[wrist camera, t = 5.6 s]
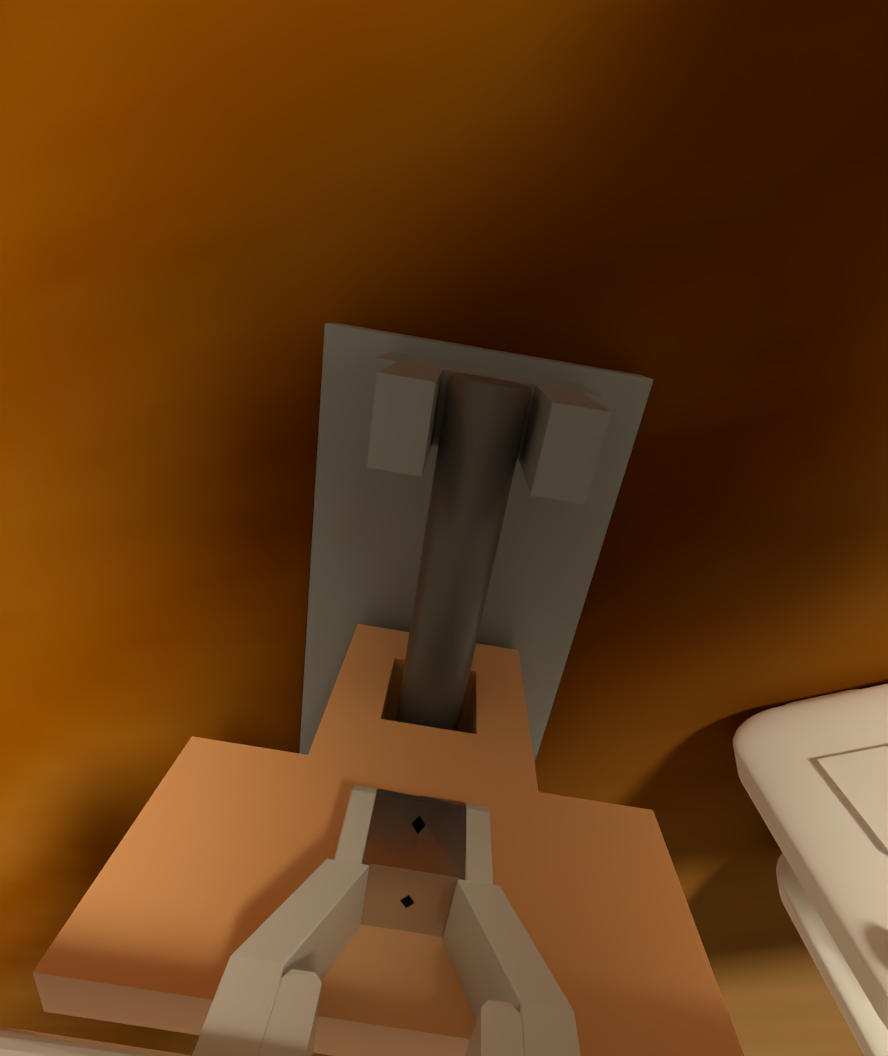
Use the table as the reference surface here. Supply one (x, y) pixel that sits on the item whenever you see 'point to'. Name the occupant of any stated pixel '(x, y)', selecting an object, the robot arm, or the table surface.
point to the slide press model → (458, 511)
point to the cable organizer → (830, 838)
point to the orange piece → (374, 952)
